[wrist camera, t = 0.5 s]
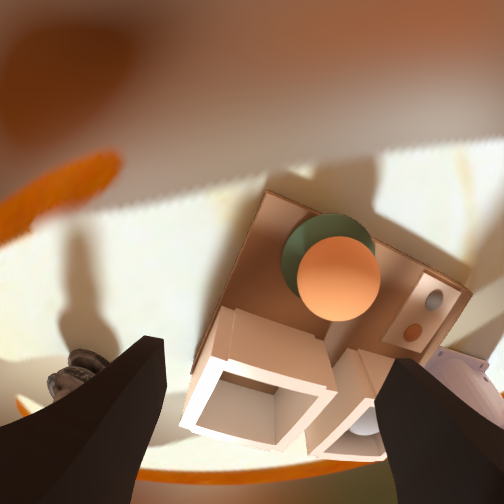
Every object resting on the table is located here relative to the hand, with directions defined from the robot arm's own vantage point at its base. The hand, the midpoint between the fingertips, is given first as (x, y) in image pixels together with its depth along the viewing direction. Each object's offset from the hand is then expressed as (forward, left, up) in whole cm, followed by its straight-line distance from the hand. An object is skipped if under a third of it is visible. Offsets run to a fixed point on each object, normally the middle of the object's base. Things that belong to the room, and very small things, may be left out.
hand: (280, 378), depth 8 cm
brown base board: (-6, +3, -9) cm, 12 cm away
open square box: (-10, +6, -8) cm, 15 cm away
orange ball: (-3, -2, -8) cm, 8 cm away
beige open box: (-2, +6, -8) cm, 11 cm away
